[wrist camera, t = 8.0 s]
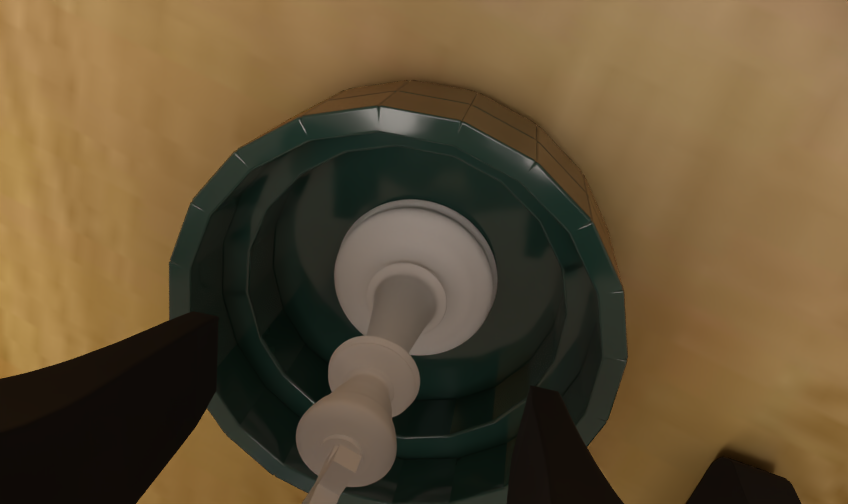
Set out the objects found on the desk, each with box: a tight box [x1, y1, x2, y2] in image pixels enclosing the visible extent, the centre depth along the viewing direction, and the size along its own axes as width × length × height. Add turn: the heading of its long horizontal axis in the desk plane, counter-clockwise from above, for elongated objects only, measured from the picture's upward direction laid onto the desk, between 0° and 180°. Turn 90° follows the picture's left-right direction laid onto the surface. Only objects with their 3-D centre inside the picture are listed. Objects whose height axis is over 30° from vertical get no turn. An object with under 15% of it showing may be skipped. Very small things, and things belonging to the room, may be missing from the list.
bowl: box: [169, 80, 628, 504], centre depth 19 cm, size 12×12×4 cm
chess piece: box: [296, 199, 498, 504], centre depth 16 cm, size 5×5×10 cm
